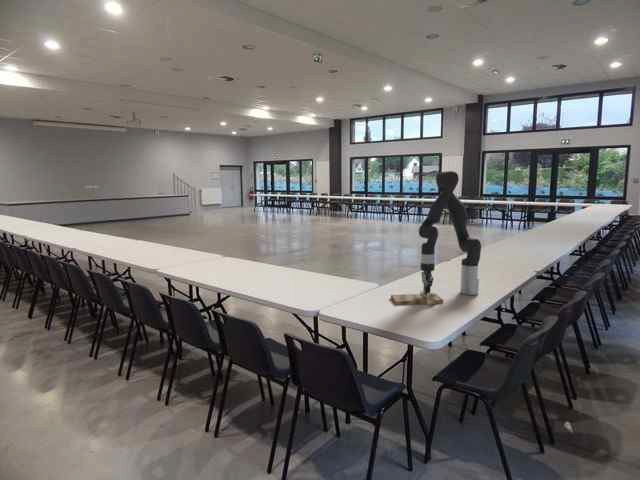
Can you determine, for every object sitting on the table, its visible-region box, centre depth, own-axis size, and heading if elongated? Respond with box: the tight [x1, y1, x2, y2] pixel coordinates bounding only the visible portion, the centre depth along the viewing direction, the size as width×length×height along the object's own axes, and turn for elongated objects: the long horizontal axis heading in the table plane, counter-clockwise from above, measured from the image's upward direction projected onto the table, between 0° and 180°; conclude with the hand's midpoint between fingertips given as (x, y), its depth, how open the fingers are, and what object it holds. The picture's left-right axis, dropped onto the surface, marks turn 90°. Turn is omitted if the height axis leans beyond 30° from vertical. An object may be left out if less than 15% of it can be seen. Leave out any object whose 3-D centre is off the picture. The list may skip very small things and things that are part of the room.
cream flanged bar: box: [419, 283, 437, 306], centre depth 226 cm, size 4×15×10 cm, turn 3°
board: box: [390, 293, 444, 306], centre depth 227 cm, size 26×12×2 cm, turn 93°
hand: (426, 291), depth 226 cm, fingers closed on cream flanged bar, 3 cm apart
